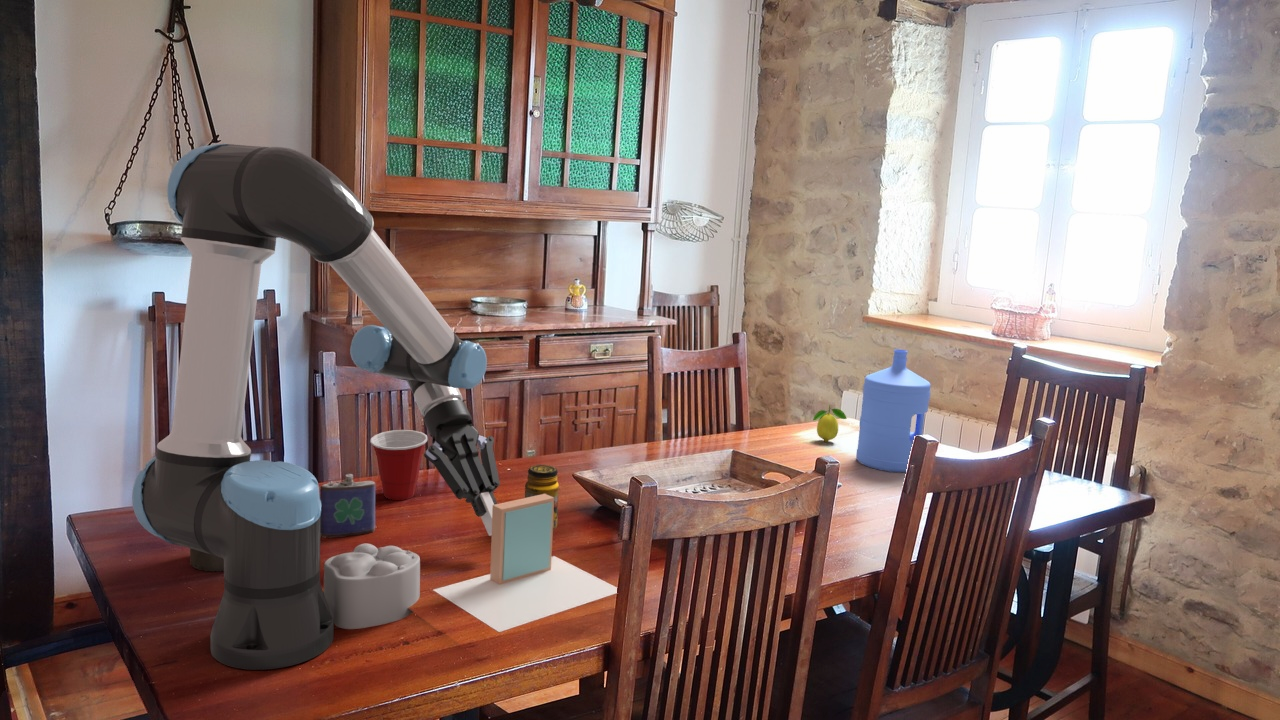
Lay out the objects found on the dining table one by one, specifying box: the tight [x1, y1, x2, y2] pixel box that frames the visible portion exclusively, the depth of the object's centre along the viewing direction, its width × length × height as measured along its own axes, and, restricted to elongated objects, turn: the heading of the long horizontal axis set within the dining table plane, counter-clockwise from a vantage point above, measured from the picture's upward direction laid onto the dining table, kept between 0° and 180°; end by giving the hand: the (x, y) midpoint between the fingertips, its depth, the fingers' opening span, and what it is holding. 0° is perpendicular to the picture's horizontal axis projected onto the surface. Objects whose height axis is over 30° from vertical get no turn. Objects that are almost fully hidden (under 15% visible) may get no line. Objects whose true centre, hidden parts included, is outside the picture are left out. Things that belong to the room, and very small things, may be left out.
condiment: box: [524, 464, 560, 531], centre depth 169 cm, size 7×8×12 cm
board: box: [432, 555, 618, 633], centre depth 143 cm, size 23×17×1 cm
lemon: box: [812, 404, 848, 443], centre depth 247 cm, size 7×6×10 cm
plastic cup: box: [370, 429, 428, 501], centre depth 184 cm, size 11×11×12 cm
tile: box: [489, 494, 554, 585], centre depth 147 cm, size 10×3×12 cm, turn 134°
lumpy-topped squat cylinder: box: [323, 543, 421, 630], centre depth 136 cm, size 10×13×9 cm
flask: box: [319, 473, 376, 538], centre depth 164 cm, size 9×3×11 cm, turn 116°
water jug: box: [855, 348, 932, 473], centre depth 228 cm, size 16×16×28 cm
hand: (496, 531), depth 154 cm, fingers closed
